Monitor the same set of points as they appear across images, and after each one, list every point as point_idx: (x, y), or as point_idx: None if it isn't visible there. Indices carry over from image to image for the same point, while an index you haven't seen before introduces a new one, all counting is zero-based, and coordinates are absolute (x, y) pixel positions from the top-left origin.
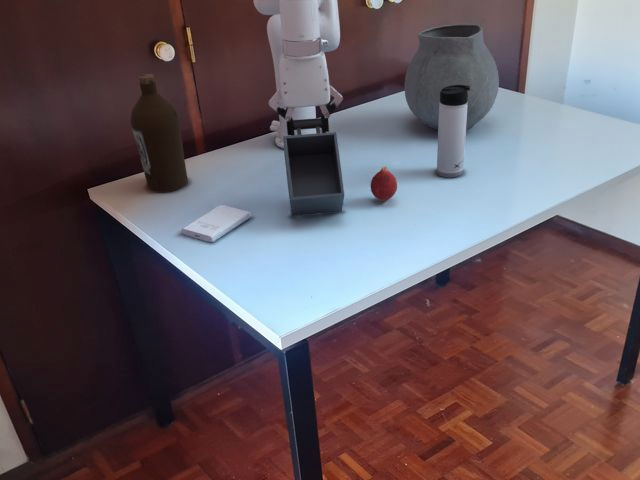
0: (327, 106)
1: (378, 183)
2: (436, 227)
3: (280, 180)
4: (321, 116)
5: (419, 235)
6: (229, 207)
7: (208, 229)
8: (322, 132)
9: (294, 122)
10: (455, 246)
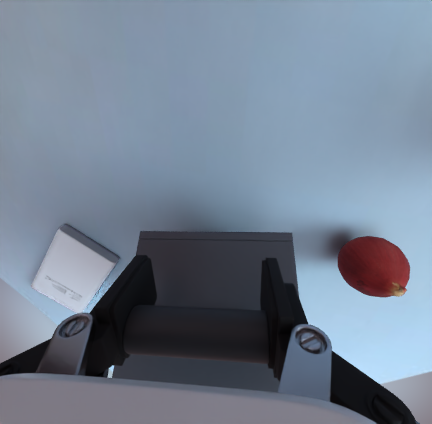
0: (337, 398)
1: (358, 290)
2: (396, 334)
3: (151, 98)
4: (274, 332)
5: (360, 345)
6: (77, 243)
7: (69, 298)
8: (261, 299)
9: (133, 354)
10: (392, 373)
